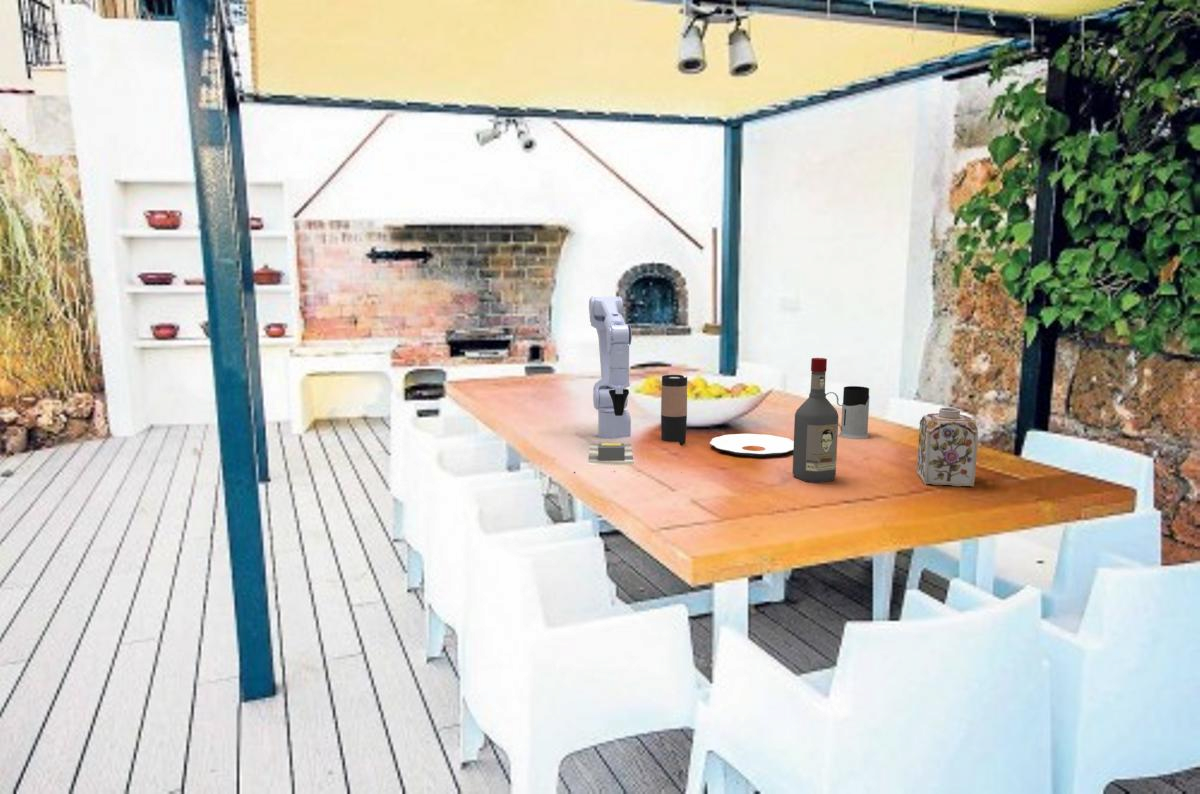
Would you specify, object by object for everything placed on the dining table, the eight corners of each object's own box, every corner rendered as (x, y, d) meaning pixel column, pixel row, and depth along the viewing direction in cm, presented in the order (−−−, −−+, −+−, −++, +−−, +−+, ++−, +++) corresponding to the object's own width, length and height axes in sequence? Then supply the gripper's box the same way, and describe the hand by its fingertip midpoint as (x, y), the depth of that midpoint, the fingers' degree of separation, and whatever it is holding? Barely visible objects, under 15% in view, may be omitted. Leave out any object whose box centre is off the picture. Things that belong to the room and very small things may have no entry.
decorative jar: (964, 475, 207) (970, 405, 204) (975, 488, 196) (981, 414, 193) (914, 472, 210) (919, 403, 207) (922, 485, 198) (927, 412, 195)
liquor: (787, 474, 208) (792, 357, 203) (817, 471, 211) (823, 355, 206) (809, 484, 199) (815, 361, 194) (840, 480, 203) (846, 360, 198)
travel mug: (657, 444, 241) (658, 377, 238) (665, 439, 248) (665, 374, 245) (682, 446, 238) (683, 379, 235) (689, 441, 245) (690, 375, 242)
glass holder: (872, 439, 248) (875, 390, 246) (825, 438, 249) (827, 390, 246) (863, 433, 257) (866, 385, 254) (818, 432, 257) (820, 385, 255)
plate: (743, 436, 254) (743, 430, 254) (815, 449, 236) (815, 442, 236) (692, 449, 237) (692, 442, 236) (765, 464, 219) (765, 457, 219)
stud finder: (598, 456, 222) (598, 442, 222) (623, 456, 222) (623, 442, 222) (598, 460, 217) (598, 446, 217) (624, 460, 217) (624, 446, 217)
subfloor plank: (589, 448, 237) (589, 443, 237) (631, 448, 237) (631, 444, 237) (588, 469, 213) (588, 464, 213) (634, 469, 213) (634, 464, 213)
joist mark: (588, 460, 223) (588, 456, 222) (632, 460, 223) (632, 456, 222) (588, 464, 219) (588, 459, 218) (633, 464, 219) (633, 459, 218)
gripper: (604, 364, 236) (604, 410, 239) (604, 371, 222) (604, 420, 224) (629, 364, 236) (628, 410, 239) (630, 371, 222) (630, 420, 224)
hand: (618, 415), depth 231 cm, fingers closed
